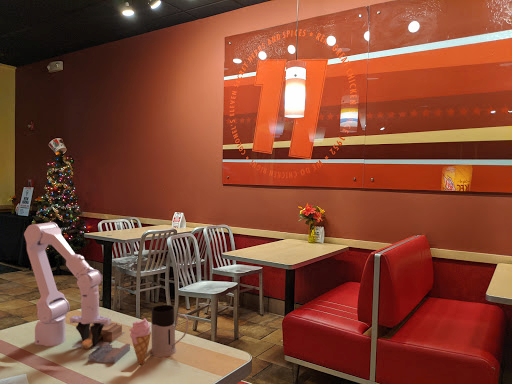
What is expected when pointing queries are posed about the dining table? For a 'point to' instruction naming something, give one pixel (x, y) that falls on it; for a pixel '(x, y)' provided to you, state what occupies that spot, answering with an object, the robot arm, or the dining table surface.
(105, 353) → the v block
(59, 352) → the dining table surface
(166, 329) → the glass holder
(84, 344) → the axle
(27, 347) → the dining table surface
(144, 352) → the ice cream cone
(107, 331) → the bridge block
